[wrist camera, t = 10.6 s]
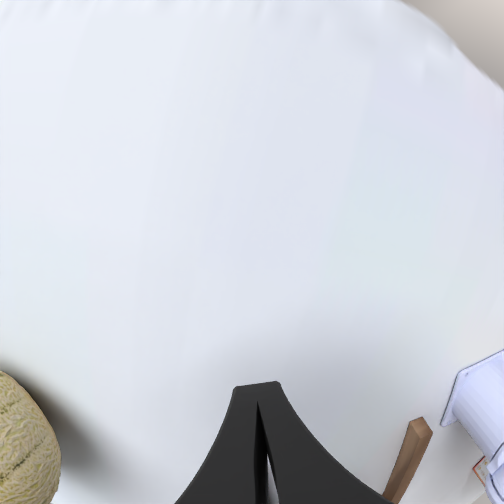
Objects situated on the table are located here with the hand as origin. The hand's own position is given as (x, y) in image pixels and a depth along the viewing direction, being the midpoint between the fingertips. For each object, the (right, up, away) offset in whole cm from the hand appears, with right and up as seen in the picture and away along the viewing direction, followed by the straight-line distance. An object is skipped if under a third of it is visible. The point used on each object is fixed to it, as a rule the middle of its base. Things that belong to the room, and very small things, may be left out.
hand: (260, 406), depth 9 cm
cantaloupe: (-23, -9, +12) cm, 28 cm away
